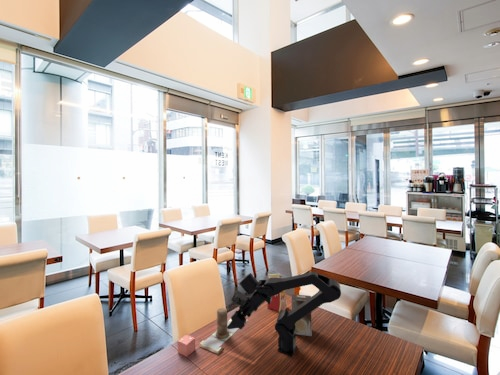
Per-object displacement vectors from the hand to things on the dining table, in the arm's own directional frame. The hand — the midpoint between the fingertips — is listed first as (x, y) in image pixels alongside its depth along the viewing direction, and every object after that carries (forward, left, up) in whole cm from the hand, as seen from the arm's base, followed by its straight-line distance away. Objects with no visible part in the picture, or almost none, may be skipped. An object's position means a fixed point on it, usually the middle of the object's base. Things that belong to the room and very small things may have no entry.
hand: (231, 322), depth 114 cm
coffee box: (-25, -21, -8) cm, 34 cm away
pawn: (+4, +1, -6) cm, 8 cm away
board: (+4, -2, -8) cm, 9 cm away
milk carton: (-6, -34, -8) cm, 36 cm away
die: (+12, +16, -8) cm, 21 cm away
